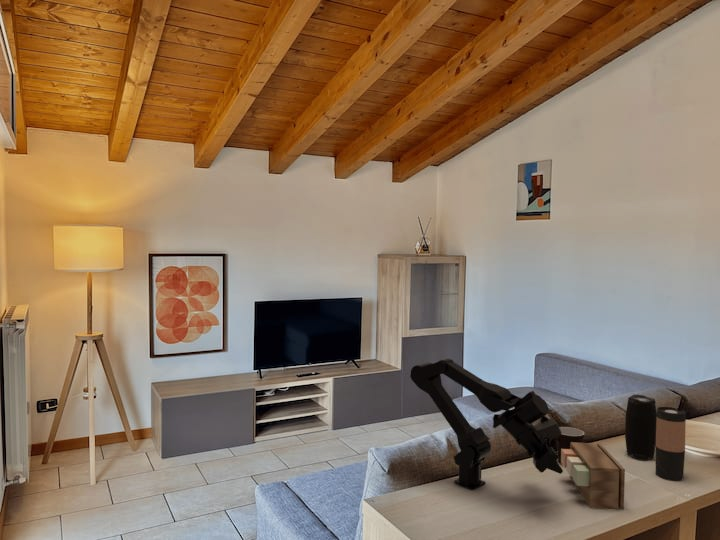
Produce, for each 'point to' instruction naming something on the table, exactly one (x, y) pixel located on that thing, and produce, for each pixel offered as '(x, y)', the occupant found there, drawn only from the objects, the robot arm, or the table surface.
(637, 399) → the portable speaker
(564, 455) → the key terracotta
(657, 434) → the travel mug
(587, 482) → the key sage
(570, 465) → the key cream
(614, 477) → the key panel
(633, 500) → the table surface
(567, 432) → the coffee mug
